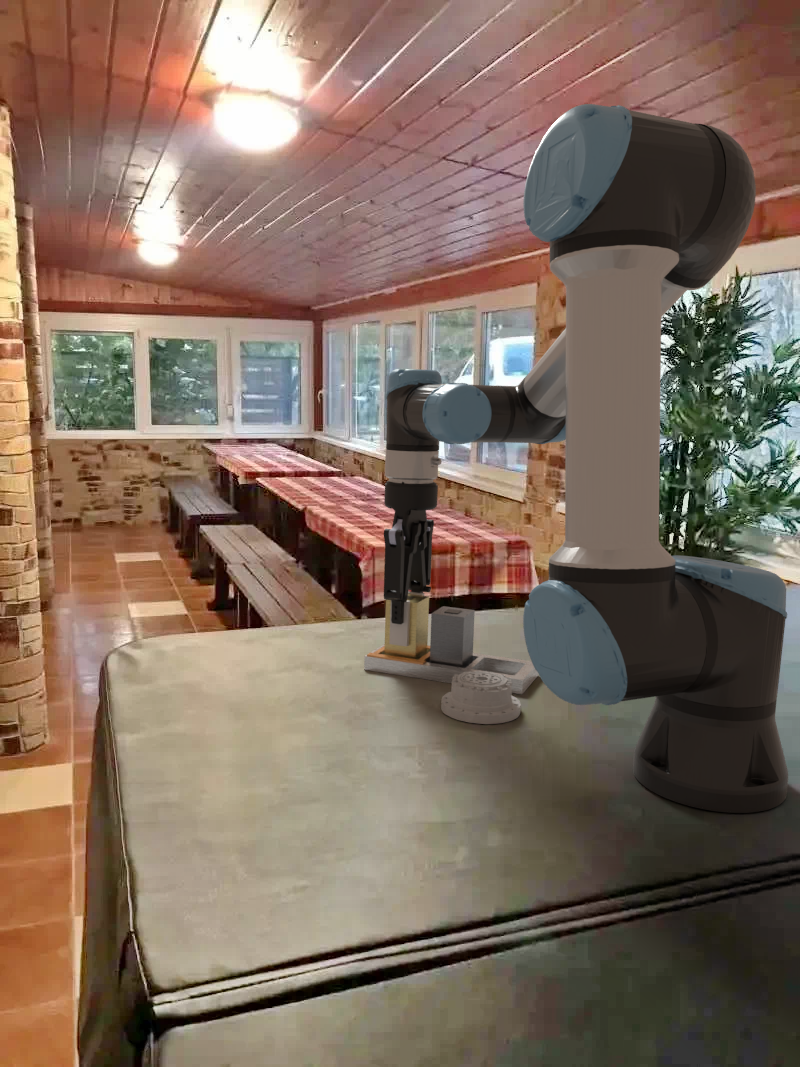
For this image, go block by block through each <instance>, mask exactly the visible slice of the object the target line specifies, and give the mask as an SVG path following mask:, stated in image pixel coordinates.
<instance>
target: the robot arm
mask: <svg viewBox="0 0 800 1067" xmlns="http://www.w3.org/2000/svg"><path fill="white" fill-rule="evenodd" d="M752 166H753V165H752V163H751V161H750V159H749V156H748V155H747V153H746V151H745V150H744V147H742V146H741V144H739V142H738V141H737V140H736V139H734V137H732V136H731V135H730V134H729V133H726V131H724V130H722V129H720V128H718V127H714V126H712V125H710V124H704V123H692V122H687V121H685V120H684V121H683V120H680V119H673V118H670V117H665V116H660V115H654V114H650V113H646V112H641V111H640V112H639V111H635V110H631V109H628V108H626V107H625V106H624V105H611V106H607V105H601V104H596V103H594V104H593V103H584V104H580V105H579V104H578V105H576V106H575V107H572V108H570V109H568V110H567V111H566V112H564V113H563V114H561V115H560V116H559V117H558V119H556V120H555V121H554V123H552V125H551V126H550V127H549V129H548V130H547V131H546V133H545V134H544V136H543V137H542V139H541V142H540V144H539V145H538V147H537V149H536V150H535V153H534V155H533V158H532V160H531V163H530V166H529V168H528V171H527V176H526V179H525V184H524V192H523V203H522V204H523V214H524V215H523V216H524V220H525V223H526V225H527V226H528V228H529V231H530V232H531V234H532V235H533V236H534V237H536V238H538V239H539V240H540V241H542V242H544V243H549V270H550V272H551V273H552V274H553V275H554V276H555V277H556V278H557V279H558V280H560V282H562V283H563V285H564V286H565V329H564V330H562V331H561V333H560V335H559V336H558V337H557V338H556V339H555V340H554V342H553V343H552V344H551V346H550V347H549V348H548V349H547V350H546V352H545V353H544V354H543V355H542V357H541V358H539V360H538V362H536V363H535V365H534V366H533V368H532V369H530V371H529V373H527V375H526V376H525V377H524V378H523V379H522V380H521V382H520V383H518V385H489V384H469V383H465V382H454V381H453V382H447V383H443V381H442V376H441V373H440V372H439V371H437V370H434V369H420V368H419V369H418V368H417V369H415V368H406V369H404V368H403V369H402V368H396V369H393V370H392V371H391V372H390V373H389V375H388V380H387V382H388V383H387V390H386V391H387V392H386V394H385V400H386V430H385V431H386V433H385V434H386V438H385V440H386V441H385V443H386V446H385V460H384V463H385V464H384V476H385V477H386V478H388V480H386V483H384V497H383V498H384V506H385V508H388V509H393V510H394V516H393V520H392V525H391V528H384V529H383V530H384V531H383V540H384V566H383V567H384V570H383V572H384V575H383V599H384V600H385V601H386V600H391V606H390V641H389V644H392V645H399V646H406V647H407V646H409V626H410V601H408V600H407V599H408V594H413V595H421V596H425V593H431V591H432V586H430V585H431V583H432V580H431V578H432V556H433V555H432V552H433V551H432V549H433V532H434V525H435V520H434V519H428V518H427V511H431V510H434V509H436V508H437V506H438V490H439V488H438V487H439V485H438V483H437V482H435V481H434V480H436V479H437V478H438V476H439V466H440V465H441V464H442V462H443V461H442V459H441V458H440V457H439V456H440V455H439V454H440V442H442V443H444V444H446V445H447V444H448V445H465V444H469V443H509V444H511V443H514V444H516V443H517V444H520V443H521V444H536V445H544V444H548V443H560V442H563V441H565V459H564V460H565V461H564V462H565V473H564V474H565V475H564V476H565V481H564V483H565V486H564V487H565V491H564V493H565V494H564V496H565V497H564V500H565V504H564V505H565V508H564V510H565V511H564V512H565V515H564V516H565V517H564V522H565V523H564V527H565V528H564V530H565V531H564V539H565V540H564V541H563V544H562V545H561V546H559V547H558V548H557V549H556V551H555V552H554V553H553V554H551V555H550V557H549V558H548V580H546V581H543V582H541V583H540V584H537V585H536V586H535V587H533V589H531V591H530V593H529V595H528V598H529V599H528V600H527V601H526V602H525V603H524V609H523V615H522V616H523V617H522V619H523V620H522V621H523V622H522V624H523V625H522V626H523V635H524V641H525V646H526V650H527V653H528V656H529V658H530V661H532V663H533V666H534V668H535V670H536V671H537V672H538V677H540V679H541V681H542V682H543V684H544V685H545V686H546V688H547V689H548V690H549V691H550V692H551V693H552V694H554V695H555V696H556V697H558V698H559V699H560V700H562V701H564V702H565V703H568V704H571V705H577V706H589V705H604V706H612V705H617V704H619V703H621V702H628V701H634V700H639V699H642V700H643V699H647V698H654V697H655V698H654V699H655V700H654V702H653V705H652V708H651V710H650V712H649V714H648V717H647V719H646V722H645V723H644V726H643V728H642V730H641V732H640V735H639V738H638V739H637V742H636V744H635V747H634V750H633V762H632V772H633V775H634V777H635V779H636V780H637V781H638V782H639V783H640V784H641V785H642V786H644V787H645V788H646V789H648V790H649V791H651V792H652V793H655V794H657V795H658V796H661V797H663V798H665V799H667V800H669V801H672V802H675V803H678V804H680V805H685V806H688V807H692V808H694V809H695V808H696V809H701V810H706V811H712V812H720V813H733V814H746V813H747V814H748V813H758V812H763V811H768V810H771V809H774V808H776V807H778V806H780V805H781V804H783V802H784V801H785V800H786V798H787V796H788V795H787V794H788V785H789V770H788V765H787V762H786V758H785V755H784V749H783V746H782V742H781V738H780V734H779V729H778V726H777V722H776V709H777V701H778V693H779V692H778V691H779V682H780V681H779V680H780V675H781V674H780V672H781V665H782V664H781V663H782V654H783V644H784V636H785V628H786V627H785V626H786V619H787V618H788V613H787V611H786V609H787V608H786V607H787V587H786V586H787V585H786V583H785V582H784V580H783V578H781V577H780V575H778V574H777V573H775V572H773V571H769V570H766V569H761V568H759V567H755V566H754V567H753V566H750V565H745V564H741V563H736V562H735V563H734V562H728V561H725V560H724V561H723V560H719V559H713V558H707V557H706V558H705V557H697V556H692V555H690V556H688V555H679V554H678V555H677V554H676V555H671V554H670V553H669V552H668V551H667V550H666V549H665V548H664V547H663V545H662V544H661V542H660V540H659V537H660V533H659V532H660V531H659V530H660V528H659V527H660V459H661V458H660V456H661V454H660V452H661V451H660V450H661V449H660V448H661V441H660V440H661V438H660V437H661V370H662V369H661V368H662V366H661V362H662V360H661V359H662V352H661V350H662V347H661V346H662V317H663V316H664V315H665V314H666V313H667V312H668V311H669V310H670V309H671V307H673V305H674V304H676V302H678V300H679V299H680V298H681V297H682V296H683V295H684V294H685V293H686V292H687V291H696V290H700V289H702V288H704V287H706V285H707V284H708V283H709V282H710V281H711V280H712V279H713V278H714V277H715V276H716V275H717V274H718V273H719V272H720V271H721V269H722V268H724V266H725V265H726V264H728V262H729V261H730V260H731V259H732V256H733V255H734V254H735V252H736V251H737V249H738V248H739V246H740V245H741V243H742V241H743V239H744V238H745V235H746V234H747V232H748V229H749V226H750V224H751V220H752V217H753V214H754V210H755V205H756V195H757V188H756V186H757V185H756V179H755V173H754V169H753V167H752Z"/></svg>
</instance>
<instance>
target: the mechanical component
mask: <svg viewBox="0 0 800 1067" xmlns="http://www.w3.org/2000/svg"><path fill="white" fill-rule="evenodd" d="M495 673H496V672H489V671H488V672H487V671H473V672H463V673H462V674H460V675H458V674H455V675H454V677H452V683H451V688H450V689H451V691H448V692H446V693H445V694H444V695H443V696H442V697H441V701H440V704H441V705H440V709H441V711H442V713H444V714H445V715H446V716H448V717H449V718H452V719H455V720H457V721H461V722H465V723H471V724H480V725H481V724H483V725H495V724H502V723H503V724H504V723H508V722H511V721H514V720H515V719H517V718H518V717H519V716H521V715H520V714H521V708H522V705H521V701H520V700H519V698H517V697H515V696H513V695H512V694H513V693H512V682H511V680H510V679H506V677H505V675H498V674H495Z"/></svg>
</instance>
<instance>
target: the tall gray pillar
mask: <svg viewBox="0 0 800 1067" xmlns="http://www.w3.org/2000/svg"><path fill="white" fill-rule="evenodd" d="M475 612H476V611H475V609H467V608H460V607H450V606H445V605H444V606H441V607H439V608H438V609H436V610H434V611H433V612H431V618H430V640H429V641H430V645H429V646H430V663H434V664H441V665H448V666H454V667H461V668H466V667H467V666H468V665H469V664H471V663H472V661H473V653H474V638H475V637H474V633H475V632H474V631H475Z"/></svg>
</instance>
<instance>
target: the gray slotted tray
mask: <svg viewBox="0 0 800 1067" xmlns="http://www.w3.org/2000/svg"><path fill="white" fill-rule="evenodd" d="M384 648H385V643H384V644H382V645H381V646H378V647H377V648H376V649H373V650H371V651H370V652H369V653H367V654H365V655H364V658H363V659H364V660H363V662H364V663H363V666H364V667H363V668H364V670H365V671H371V672H376V673H382V674H383V673H384V674H390V675H395V676H396V675H397V676H403V677H408V678H416V679H422V680H428V681H433V682H440V683H447V684H452V677H454V675H455V674H458V675H460V674H462V673H463V672H473V671H487V672H494V673H495V674H498V675H505V677H506V679H510V680H511V682H512V693H511V694H517V695H523V694H524V693H525V692H526V690H528V688H529V687H530V686H531V684H533V682H534V681H535V680H536V679H537V677H539V674H538V672H537V671H536V670H535V668H534V666H533V663H532V661H531V660H526V659H518V658H511V657H504V656H498V655H491V654H484V653H483V654H482V653H476V652H473V661H472V663H471V664H469V665H468V666H467V667H466V668H461V667H454V666H448V665H441V664H434V663H430V645H428V644H427V654H425V655H424V656H423V657H421V658H420V659H418V660H417V659H410V658H404V657H397V656H390V655H384Z"/></svg>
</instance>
